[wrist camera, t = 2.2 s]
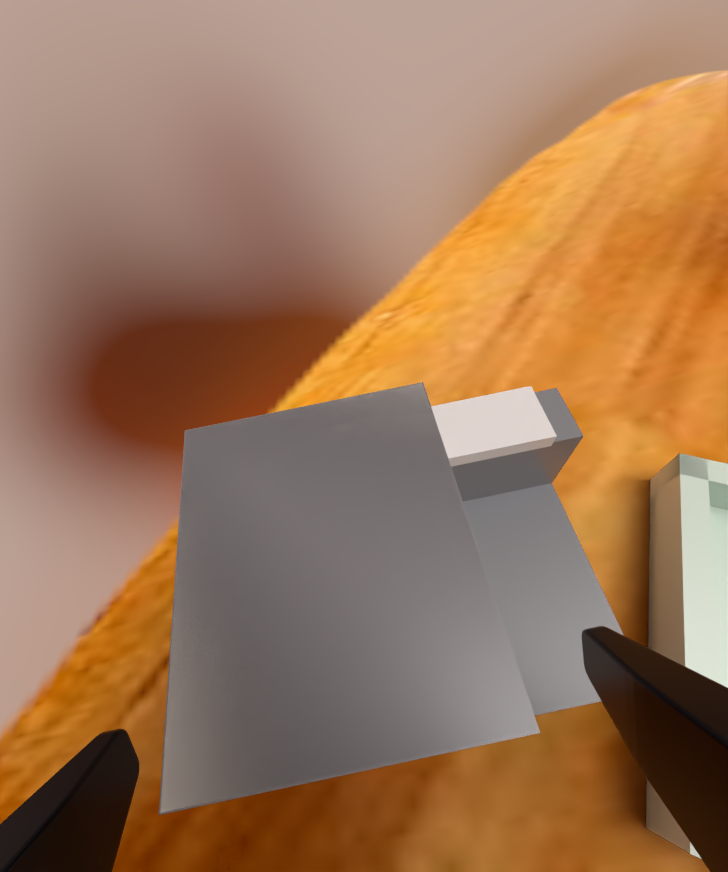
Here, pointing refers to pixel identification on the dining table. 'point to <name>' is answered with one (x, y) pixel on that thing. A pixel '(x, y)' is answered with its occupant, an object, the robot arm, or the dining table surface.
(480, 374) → the dining table surface
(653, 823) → the tray
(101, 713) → the dining table surface
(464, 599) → the block
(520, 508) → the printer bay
